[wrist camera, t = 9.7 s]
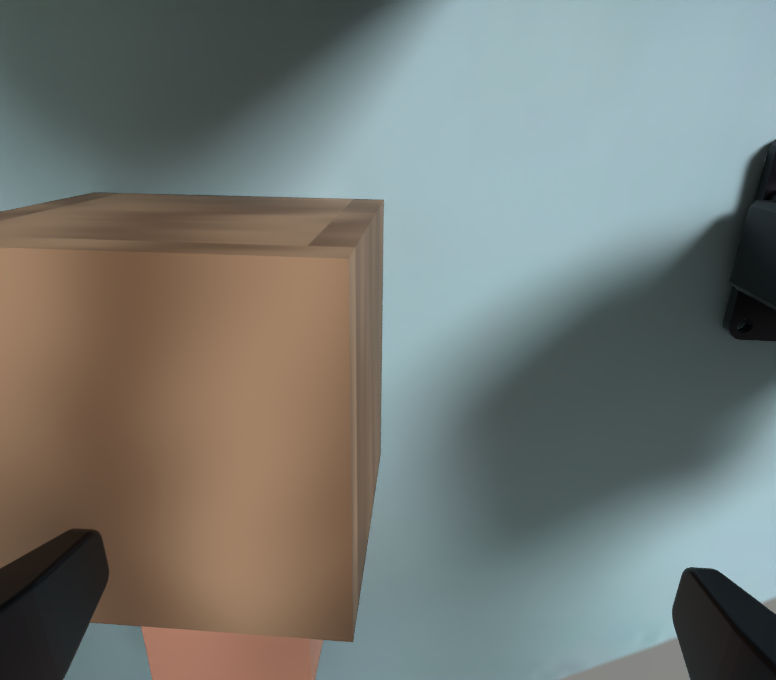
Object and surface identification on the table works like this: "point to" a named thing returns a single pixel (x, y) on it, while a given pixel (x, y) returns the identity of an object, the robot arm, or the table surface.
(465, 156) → the table surface
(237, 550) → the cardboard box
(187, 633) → the tethered block
